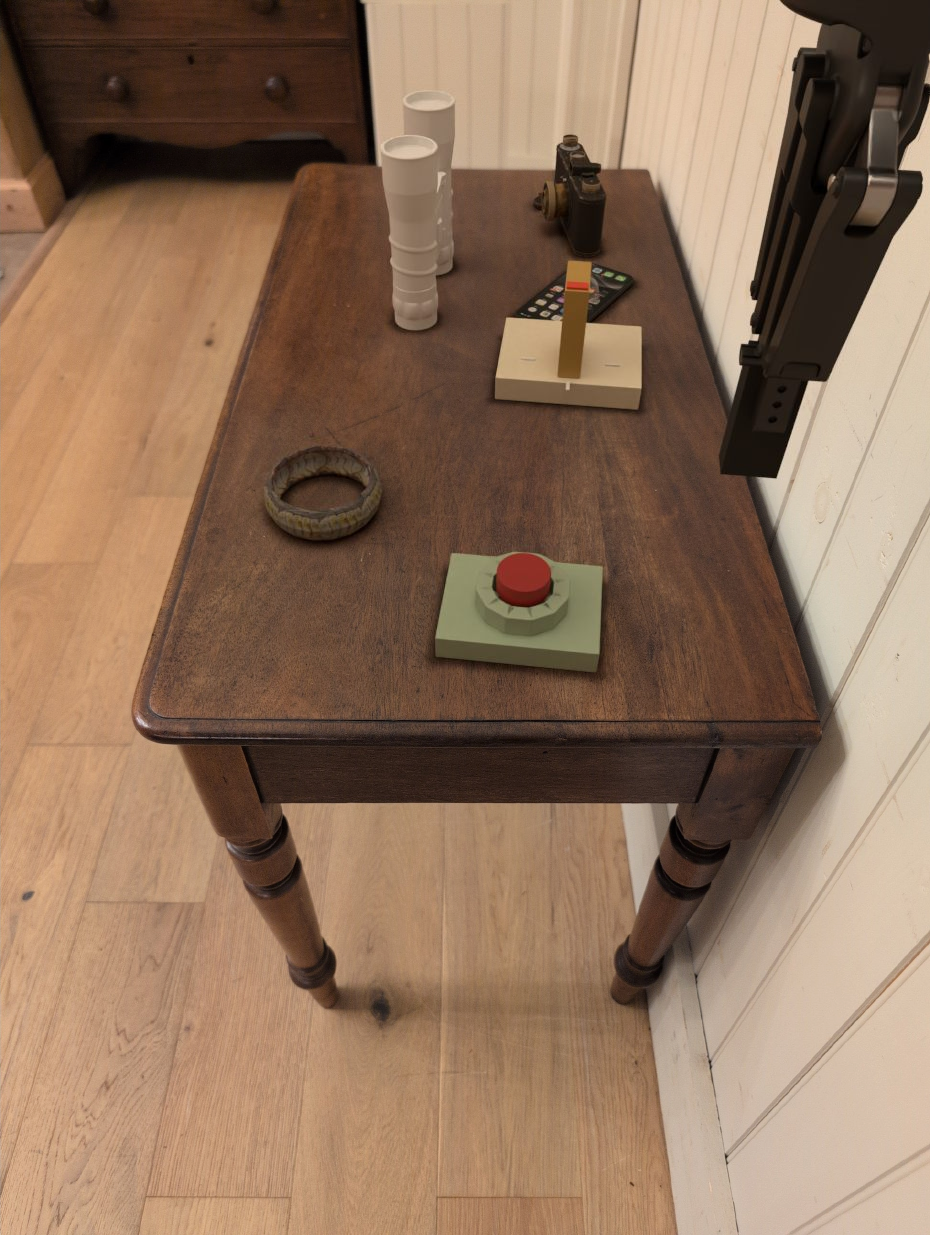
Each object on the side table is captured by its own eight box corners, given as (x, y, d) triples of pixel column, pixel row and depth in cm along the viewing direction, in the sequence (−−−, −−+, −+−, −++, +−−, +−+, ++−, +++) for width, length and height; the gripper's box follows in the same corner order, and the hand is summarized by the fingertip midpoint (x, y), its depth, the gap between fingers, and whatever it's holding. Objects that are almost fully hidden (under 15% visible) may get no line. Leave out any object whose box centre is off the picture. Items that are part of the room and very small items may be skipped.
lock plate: (638, 347, 96) (641, 324, 94) (638, 418, 88) (642, 395, 86) (505, 338, 98) (506, 315, 96) (493, 407, 89) (493, 384, 87)
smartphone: (636, 277, 105) (571, 335, 96) (636, 282, 105) (570, 340, 97) (580, 258, 108) (511, 313, 99) (579, 264, 108) (511, 319, 100)
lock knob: (560, 345, 92) (568, 257, 85) (582, 347, 92) (592, 259, 85) (557, 377, 88) (565, 287, 82) (580, 378, 88) (589, 289, 81)
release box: (599, 585, 74) (605, 549, 71) (596, 673, 68) (602, 638, 65) (451, 571, 75) (451, 535, 72) (435, 657, 69) (434, 621, 66)
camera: (528, 197, 120) (532, 132, 114) (579, 195, 120) (585, 130, 114) (551, 259, 109) (556, 191, 103) (606, 256, 109) (614, 188, 103)
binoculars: (436, 334, 98) (432, 159, 85) (386, 330, 99) (374, 156, 85) (459, 256, 109) (458, 91, 96) (414, 253, 110) (407, 88, 96)
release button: (551, 571, 70) (552, 554, 68) (547, 610, 67) (549, 594, 66) (498, 566, 70) (499, 550, 69) (493, 605, 67) (493, 588, 66)
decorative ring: (391, 473, 83) (283, 464, 84) (389, 444, 80) (278, 435, 81) (371, 551, 76) (253, 541, 77) (367, 522, 74) (246, 512, 75)
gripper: (779, -184, 32) (668, 385, 50) (829, -99, 24) (673, 551, 42) (1000, -180, 32) (808, 395, 49) (1133, -90, 23) (844, 566, 41)
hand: (747, 466), depth 45 cm, fingers closed
